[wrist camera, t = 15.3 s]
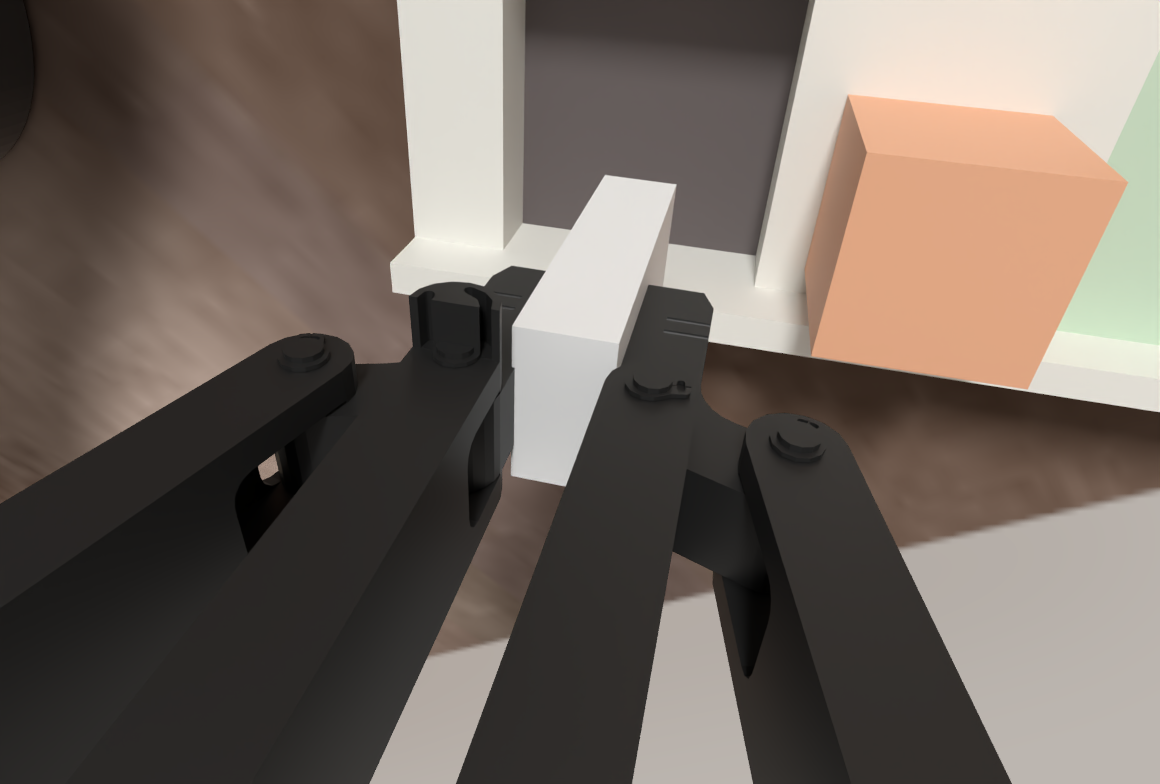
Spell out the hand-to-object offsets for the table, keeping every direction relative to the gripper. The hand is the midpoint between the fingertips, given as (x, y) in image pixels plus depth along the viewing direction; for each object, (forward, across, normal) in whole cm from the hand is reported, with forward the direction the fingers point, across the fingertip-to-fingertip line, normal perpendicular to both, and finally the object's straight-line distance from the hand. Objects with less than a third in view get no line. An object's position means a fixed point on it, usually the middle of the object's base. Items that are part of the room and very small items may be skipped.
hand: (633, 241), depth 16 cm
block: (+7, +7, 0) cm, 10 cm away
